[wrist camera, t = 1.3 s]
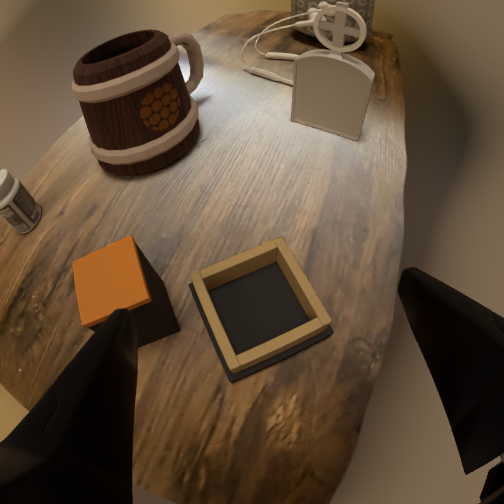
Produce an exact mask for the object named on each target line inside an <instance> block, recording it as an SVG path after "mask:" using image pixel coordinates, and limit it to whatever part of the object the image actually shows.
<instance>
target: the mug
mask: <svg viewBox="0 0 504 504" xmlns="http://www.w3.org/2000/svg"><path fill="white" fill-rule="evenodd" d="M177 45H181V46H183V47H184V48H185V49H186V51H187V55H188V60H189V64H190V77H189V80H188V81H187V82H186V83H185V81H184V78H183V75H182V72H181V69H180V66H179V63H178V60H179V54H180V53H179V51H178V49H177ZM203 68H204V63H203V58H202V53H201V48H200V45H199V43H198V42H197V41H196V40H195V38H194V37H193V36H192V35H189V34H187V33H185V32H182V31H180V32H178V33H174V34H171V35H168V36H167V35H166V34H164V33H163V32H160V31H158V30H142V31H136V32H132V33H128V34H125V35H122V36H119V37H116V38H114V39H111V40H109V41H106V42H104V43H103V44H100V45H98V46H97V47H95V48H93V49H92V50H90V51H89V52H87V53H86V54H85V55H83V56H82V57H81V58H80V59H79V61H78V62H77V64H76V65H75V67H74V69H73V76H74V80H73V82H72V91H73V96H74V98H76V99H77V100H79V102H80V105H81V109H82V112H83V115H84V118H85V122H86V125H87V128H88V131H89V134H90V136H89V142H90V148H91V152H92V154H93V155H94V156H95V157H96V158H97V159H98V161H99V164H100V165H101V166H102V167H103V168H104V170H105V171H106V172H109V173H112V174H115V175H118V176H137V175H141V174H146V173H150V172H154V171H156V170H158V169H160V168H163V167H165V166H167V165H169V164H171V163H172V162H173V161H175V160H176V159H178V158H179V157H181V156H182V155H183V154H184V153H185V152H186V151H187V150H188V149H189V148H190V146H191V145H192V144H193V143H194V142H195V140H196V138H197V136H198V133H199V131H200V129H199V120H198V107H197V104H196V102H195V101H194V100H193V98H192V97H191V96H190V94H191V93H192V92H193V91H194V90H196V88H197V86H198V84H199V83H200V81H201V79H202V77H203Z"/></svg>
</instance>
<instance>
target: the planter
mask: <svg viewBox="0 0 504 504" xmlns="http://www.w3.org/2000/svg"><path fill="white" fill-rule="evenodd" d="M322 1H325V2H327V3H328V4H330V5H332V6H333V5H336V2H338V1H339V2H344V3H348V4H349V8H351V9H353V10H354V11H356V12H357V13H358V14H359V15H360V16H361V17H362V19H363V20H364V22H365V24H366V29H367V34H366V38H365V40H364V41H366V40H368V39H369V37H370V31H371V24H372V18H373V12H374V5H375V0H291V17H292V16H295V15H299V14H303V13H307V11H308V9H310V8H316V9H320V8H319V6H318V5H319V3H320V2H322ZM324 17H325V18H326V22H331V23H334V21H335V15H334V16H327V15H326V14H325V15H324ZM308 20H310V18H309V16H308V14H306V15H301V16H297V17H294V18H291V25H293V24H295V23H296V22H300V21H308ZM347 26H349V27H353V28H356V29H360V27H359V25H358V23H357V22H356V20H355V19H354V18H353V17H352V16H350V15H349V14H348V17H347ZM292 28H294V29H295V30H297V31H300V32H302V33H304V34H306V35H307V36H309V37H311V38H313V39H315V40H318V38H317V37H316V35H315V33H314V29H313V25H311V26H302V27H296V26H292ZM321 30H322V32H323V34H324V35H325V37H326V38H327V39H328V40H330V41H331V42H332V40H333V31H330V30H325V29H321ZM358 40H359V38H358V37H354V36H351V35H347V34H345V42H344V44H348V43H353V42H357V41H358ZM318 41H319V40H318Z"/></svg>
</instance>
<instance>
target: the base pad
mask: <svg viewBox="0 0 504 504" xmlns="http://www.w3.org/2000/svg"><path fill="white" fill-rule="evenodd" d="M190 277H191V280H192V283H191V284H189V287H190V289H191V292H192V294H193V297H194V299H195V302H196V304H197V307H198V309H199V312H200V314H201V317H202V319H203V322H204V324H205V326H206V329H207V331H208V333H209V336H210V338H211V340H212V343H213V345H214V347H215V350H216V352H217V354H218V357H219V359H220V361H221V363H222V365H223V368H224V370H225V372H226V374H227V376H228V379H229V381H230V382H231V383H233V382H236V381H238V380H241V379H243V378H245V377H247V376H250V375H252V374H254V373H256V372H259V371H261V370H263V369H265V368H267V367H270V366H272V365H274V364H276V363H278V362H280V361H282V360H284V359H286V358H289V357H291V356H293V355H295V354H297V353H299V352H301V351H303V350H305V349H307V348H308V347H310V346H312V345H314V344H316V343H318V342H320V341H322V340H324V339H326V338H328V337H329V336H331V335H332V334H333V333H334V332H333V330H332V328H331V326H330V323H331V322H332V320H331V318H330V317H329V315H328V313H327V311H326V310H325V308H324V306H323V304H322V303H321V301H320V299H319V298H318V296H317V294H316V292H315V291H314V289H313V287H312V286H311V284H310V282H309V280H308V279H307V277H306V275H305V274H304V272H303V270H302V269H301V267H300V265H299V264H298V262H297V260H296V259H295V257H294V255H293V254H292V252H291V250H290V249H289V247H288V245H287V244H286V242H285V240H284V239H283V237H282V236H281V237H278V238H276V239H274V240H271V241H269V242H266V243H264V244H261V245H259V246H257V247H254V248H252V249H249V250H247V251H245V252H242V253H240V254H237V255H235V256H233V257H230V258H228V259H226V260H223V261H221V262H218V263H216V264H214V265H211V266H209V267H206V268H204V269H202V270H199V271H197V272H195V273H193V274H190Z"/></svg>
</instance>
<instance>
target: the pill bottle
mask: <svg viewBox="0 0 504 504" xmlns="http://www.w3.org/2000/svg"><path fill="white" fill-rule="evenodd" d="M0 214H1V215H2V216H3V217H4V218H5V219H6V220H7V221H8V222H9V223H10V224H11V225H12V226H13V227H14V228H15V229H16V230H17V231H18V232H19V233H21V234H25V233H28V232H29V231H31V230H32V229H33V228H34V227H35V226H36V224H37V223H38V221H39V220H40V217H41V207H40V206H39V205H38V203H37V202H36V201H35V200H34V199H33V197H32V196H31V195H30V194H29V192H28V191H27V190H26V189H25V187H24V186H23V185H22V184H21V182H20V181H19V180H18V179H17V178H13V177H12V175H11V174H10V173H9V172H8V170H7V169H2V170H0Z"/></svg>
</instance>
